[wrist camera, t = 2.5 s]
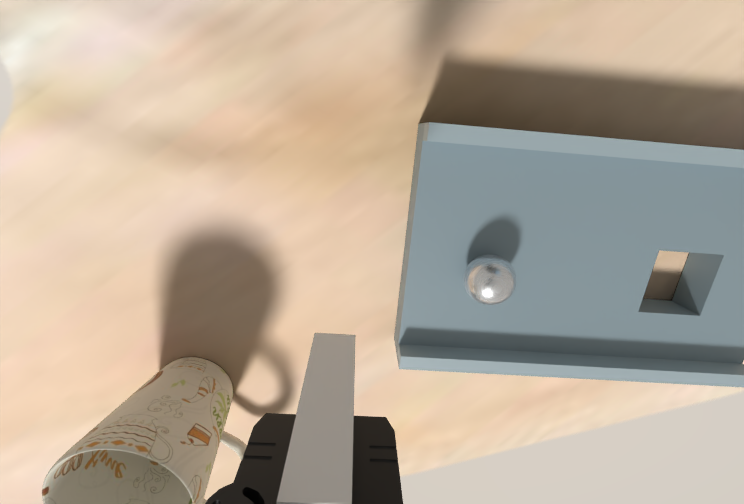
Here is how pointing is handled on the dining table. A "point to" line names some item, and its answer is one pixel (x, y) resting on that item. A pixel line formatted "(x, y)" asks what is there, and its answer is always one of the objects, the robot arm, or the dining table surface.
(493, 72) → the dining table surface
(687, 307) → the plate
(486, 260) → the steel ball
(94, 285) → the dining table surface
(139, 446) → the mug
